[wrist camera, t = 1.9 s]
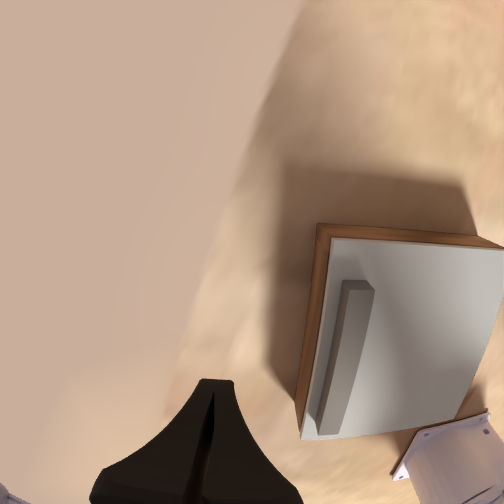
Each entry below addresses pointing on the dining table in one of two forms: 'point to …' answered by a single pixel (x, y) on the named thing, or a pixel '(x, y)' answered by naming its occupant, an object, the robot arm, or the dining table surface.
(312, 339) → the box
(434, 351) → the lid
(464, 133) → the dining table surface
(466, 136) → the dining table surface
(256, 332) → the dining table surface
